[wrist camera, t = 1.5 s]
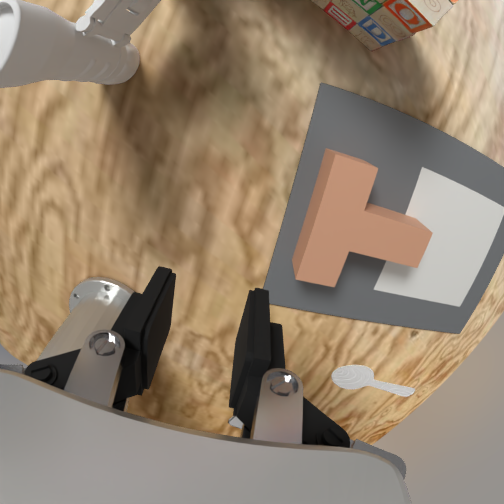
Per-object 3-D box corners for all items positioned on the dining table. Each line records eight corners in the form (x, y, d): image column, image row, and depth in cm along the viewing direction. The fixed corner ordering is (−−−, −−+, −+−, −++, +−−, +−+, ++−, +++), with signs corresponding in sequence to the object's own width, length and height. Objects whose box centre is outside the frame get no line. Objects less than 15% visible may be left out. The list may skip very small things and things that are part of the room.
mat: (458, 332, 38) (459, 333, 37) (259, 299, 35) (259, 301, 35) (528, 184, 27) (529, 185, 27) (320, 82, 25) (321, 82, 24)
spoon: (402, 400, 45) (402, 402, 45) (322, 380, 42) (323, 383, 41) (422, 381, 43) (423, 384, 42) (344, 357, 40) (345, 360, 39)
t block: (389, 281, 33) (401, 300, 30) (291, 259, 32) (295, 279, 29) (428, 184, 28) (447, 195, 25) (325, 148, 27) (335, 154, 24)
